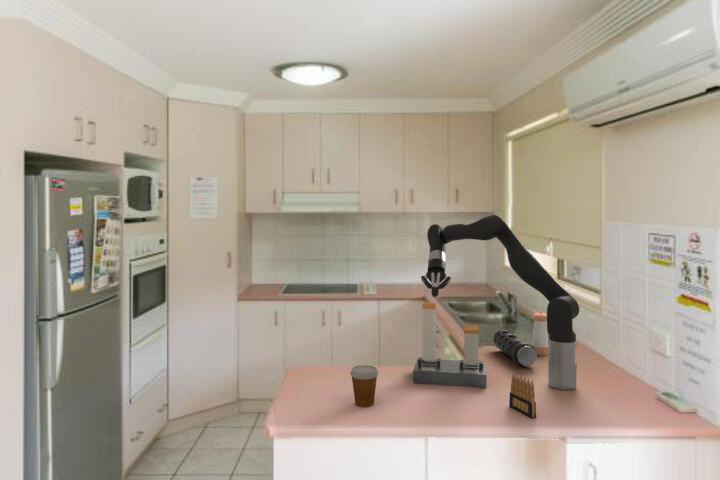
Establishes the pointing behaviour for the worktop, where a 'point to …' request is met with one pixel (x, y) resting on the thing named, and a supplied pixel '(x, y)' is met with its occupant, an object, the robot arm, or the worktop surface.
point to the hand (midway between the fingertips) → (434, 295)
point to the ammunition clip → (522, 396)
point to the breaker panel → (450, 373)
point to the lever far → (429, 333)
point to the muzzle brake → (515, 348)
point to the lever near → (471, 346)
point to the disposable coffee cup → (364, 384)
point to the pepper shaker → (540, 334)
